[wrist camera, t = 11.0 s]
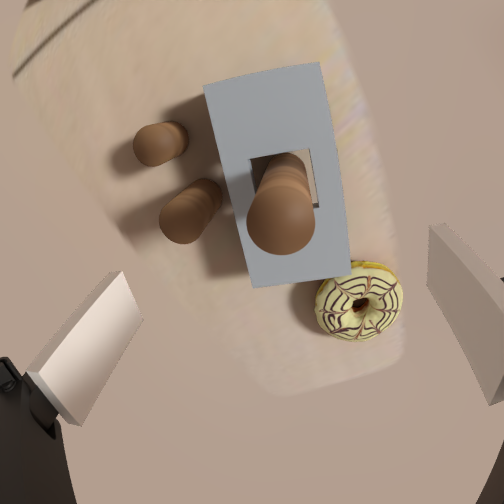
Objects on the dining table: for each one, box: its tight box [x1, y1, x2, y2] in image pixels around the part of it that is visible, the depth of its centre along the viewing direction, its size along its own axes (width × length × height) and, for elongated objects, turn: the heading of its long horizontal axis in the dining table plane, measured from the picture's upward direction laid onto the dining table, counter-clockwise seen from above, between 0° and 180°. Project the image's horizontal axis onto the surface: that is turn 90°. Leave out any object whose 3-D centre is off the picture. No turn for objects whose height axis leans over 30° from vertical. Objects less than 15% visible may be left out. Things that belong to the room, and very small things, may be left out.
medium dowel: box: [159, 179, 223, 244], centre depth 30 cm, size 4×4×8 cm
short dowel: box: [133, 121, 189, 167], centre depth 29 cm, size 4×4×5 cm
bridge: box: [203, 62, 352, 288], centre depth 29 cm, size 20×10×5 cm, turn 12°
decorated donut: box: [314, 261, 403, 342], centre depth 36 cm, size 10×11×4 cm
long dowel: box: [246, 153, 315, 255], centre depth 25 cm, size 4×4×15 cm
